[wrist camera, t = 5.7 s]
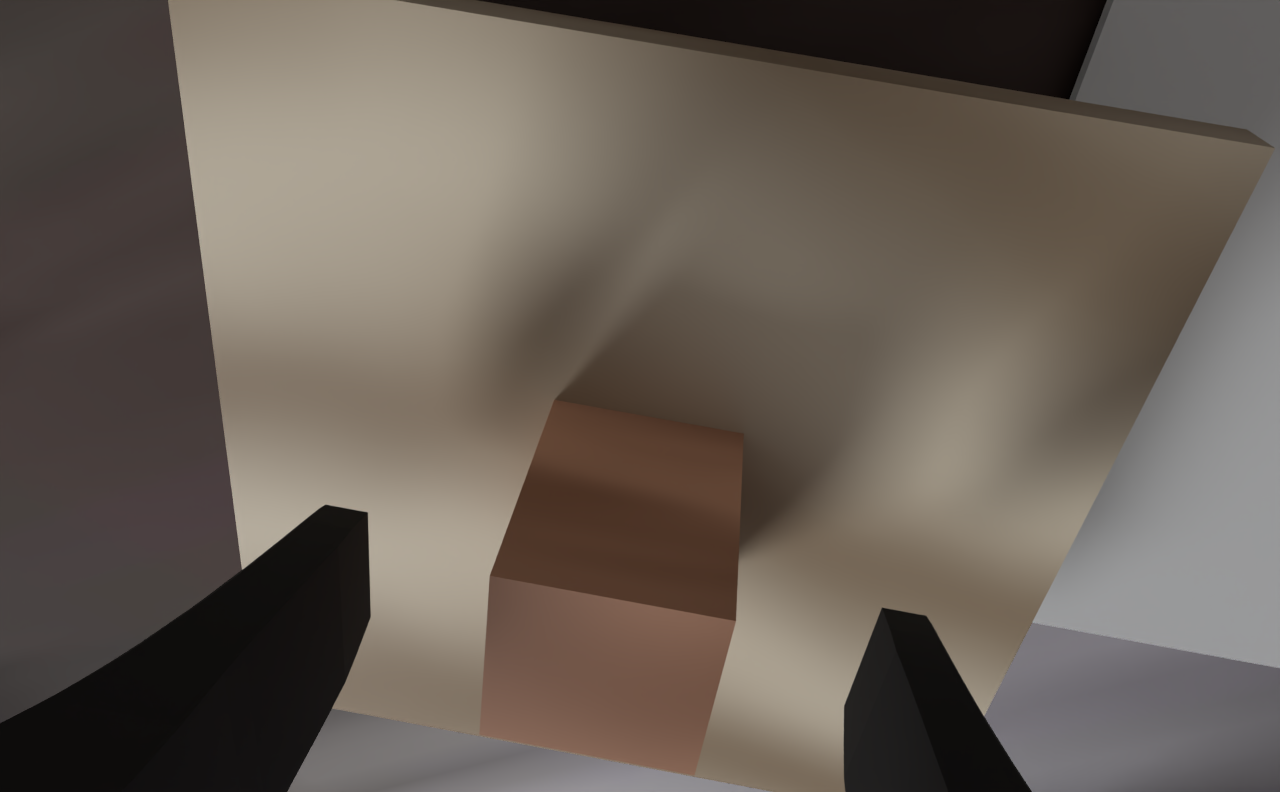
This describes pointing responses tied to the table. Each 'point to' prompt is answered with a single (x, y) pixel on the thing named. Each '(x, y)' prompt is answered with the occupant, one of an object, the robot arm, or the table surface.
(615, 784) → the table surface
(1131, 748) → the table surface
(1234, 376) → the mat
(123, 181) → the table surface
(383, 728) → the table surface
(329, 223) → the lid
